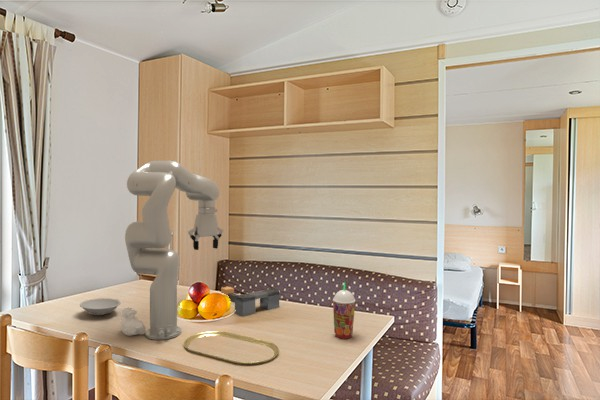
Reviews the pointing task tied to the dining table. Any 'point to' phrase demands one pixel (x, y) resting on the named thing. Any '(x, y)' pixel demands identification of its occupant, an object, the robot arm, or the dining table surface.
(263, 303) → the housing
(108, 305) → the dish
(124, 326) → the duck figurine
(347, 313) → the smoothie
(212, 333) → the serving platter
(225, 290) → the plug
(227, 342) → the dining table surface
